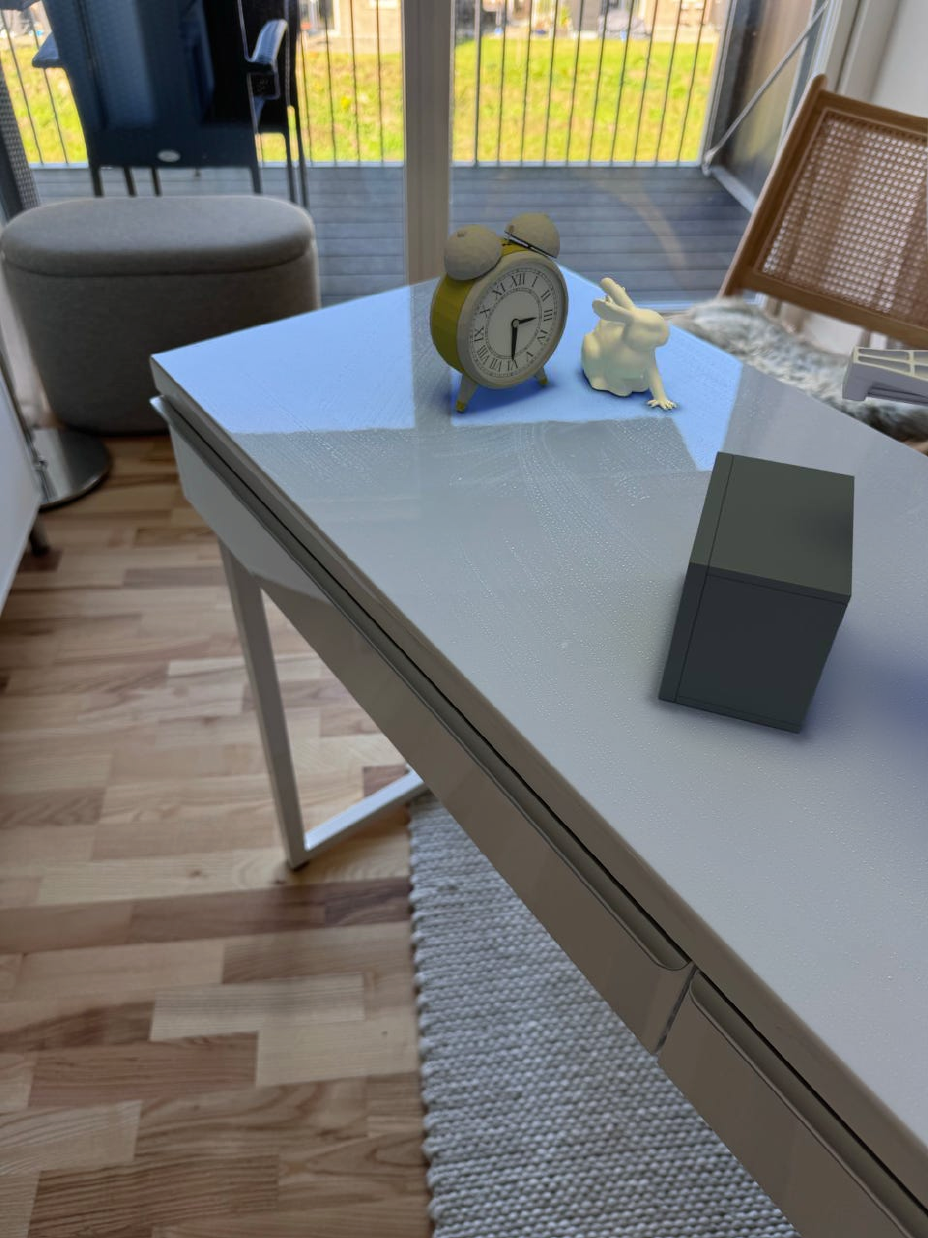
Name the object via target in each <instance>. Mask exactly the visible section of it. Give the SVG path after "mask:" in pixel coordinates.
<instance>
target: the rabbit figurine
mask: <svg viewBox="0 0 928 1238" xmlns="http://www.w3.org/2000/svg"><path fill="white" fill-rule="evenodd" d="M599 288H600V289H601V291H603V293H605V294H606V295H605V297H603V298H597V297H596V298H593V301H592V302H591V307H592V310H593V313H594V314H595V315H596V316H597V317H599V320H598V321H597V324H596V325H595V327H594V329H591V331H590V332H589V333H585V334H584V335H583V338H582V343H581V347H580V362H581V365H582V368H583V371H584V375H585V376H586V378H587V379H588V381H589V384H590V386H591V388H593V389H595V390H601V391H602V390H603V391H609V392H610V393H612V394H614V395H616V396H620V397H627V396H629V395H631V394H632V392H636V393H637V392H638V393H642V392H646V391H648V390H649V391H650V393H651V396H652V397H653V399H652V400H648V402H646V405H651V406H650V407H653V408H654V407H656V406H660V407H661V408H662V410H664V411H669V410H670V409H671V410H673V408H674V407H675V408H677V405H676V404H675V402H672V401H670V400H669V399H668V397H667V396H666V392H665V389H664V384H663V380H662V376H661V373H660V371H659V366H658V364H657V359H656V349H657V348H661V347H664V346H666V344H668V341H669V338H670V335H671V330H670V326H669V323H667V321H666V319H665V318H664V317H663V316H662V315H661V314H660V313H659V312H657V311H656V310H653V309H649V308H640V307H638V306H637V305H635V303H634V302H633V301H632V299H631V298H630V297H629V296H628V294H627V292H626V288H625V287H624V286H621V285H619V284H618V283H616V282H615V281H614V280H613V279H612V278H610V277H605V278H602V279H601V281H600V282H599Z"/></svg>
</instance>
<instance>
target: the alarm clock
mask: <svg viewBox="0 0 928 1238" xmlns="http://www.w3.org/2000/svg"><path fill="white" fill-rule="evenodd" d="M504 234H507V238H506V237H499V235H498V234H497V233H496V232H495V231H493V230H492V229H490V228H489V227H487V226H485V225H482V224H475V223H471V224H468V225H463V226H461V227H460V228H458V229H457V230H456V231H454V232H453V233H452V234H451V235H450V236H449V238H448V239H447V241H446V243H445V245H444V249H443V265H444V270H443V272H442V273H441V275H440V277H439V279H438V281H437V283H436V287H435V289H434V290H433V294H432V298H431V301H430V302H431V303H430V308H429V330H430V331H429V333H430V336H431V340H432V343H433V344H432V345H433V346H434V347H435V350H436V351H437V354H438V355H439V356H440V357H441V358H442V360H443V361H444V362H445V363H446V364H447V365H448V366H449V367H451V368H452V369H454V370H455V371H457V372H458V373H460V374H462V375H461V380H460V385H459V390H458V395H457V399H456V403H455V410H457V411H459V412H464V410H465V409H466V407H467V406H468V403H470V400H471V399H472V397H473V396H474V394H475V392H476V390H477V389H478V388H479V386H482V387H484V388H489V389H492V390H505V389H509V388H513V387H516V386H518V385H520V384H523V383H525V382H527V381H528V380H530V379H532V377H533V378H534V379H535V380H536V381H537V382H538V383H539V385H540V386H542V387H545V386H546V385H548V383H549V380H548V377H547V374H546V370H545V365H546V364H547V363H549V360H550V359H551V357H552V356H553V354H554V353H555V352H556V350H557V348H558V346H559V344H560V342H561V340H562V337H563V335H564V332H565V329H566V325H567V322H568V321H567V320H568V316H569V301H570V299H569V298H570V297H569V290H568V286H567V281H566V280H565V277H564V274H563V272H562V270H561V269H560V268H559V266H558V265H557V264H556V263H555V262H554V261H553V260H552V259H551V258H554V259H558V256H559V253H560V250H561V239H560V234H559V231H558V229H557V228H556V226H555V224H554V222H553V221H552V220H551V219H549V214H548V213H547V212H546V211H542V212H539V213H538V212H537V213H536V212H525V213H522V214H520V215H519V214H518V215H517V216H515V217H514V218H513V219H511V220H510V221H509V223H507V225H506V227H505V229H504ZM511 237H512V238H511ZM516 240H517V241H516ZM518 241H519V242H518ZM550 257H551V258H550Z"/></svg>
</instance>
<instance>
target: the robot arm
mask: <svg viewBox="0 0 928 1238" xmlns="http://www.w3.org/2000/svg"><path fill="white" fill-rule="evenodd" d="M867 398H872V399H878V400H883V401H891V402H897V403H903V404H907V405H908V404H909V405H914V406H921V407H928V349H887V348H884V349H883V348H872V347H866V346H865V347H863V346H853V347H852V351H851V354H850V357H849V360H848V364H847V366H846V370H845V373H844V377H843V379H842V386H841V399H842V400H848V401H854V402H865V401H866V399H867Z"/></svg>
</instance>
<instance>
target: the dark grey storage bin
mask: <svg viewBox="0 0 928 1238" xmlns="http://www.w3.org/2000/svg"><path fill="white" fill-rule="evenodd" d="M855 479H856V477H855V475H851V474H846V473H841V472H834V471H829V470H823V469H819V468H813V467H808V466H807V467H806V466H802V465H795V464H792V463H791V464H790V463H786V462H780V461H774V460H769V459H763V458H757V457H753V456H747V455H740V454H737V453H736V454H733V453H730V452H724V451H717V452H716V455H715V459H714V463H713V467H712V471H711V475H710V479H709V482H708V486H707V489H706V494H705V499H704V502H703V505H702V510H701V514H700V518H699V522H698V525H697V529H696V532H695V536H694V542H693V544H692V548H691V549H692V550H691V552H690V556H689V560H688V564H687V569H686V573H685V577H684V583H683V585H682V591H681V595H680V600H679V604H678V609H677V613H676V616H675V621H674V625H673V630H672V634H671V639H670V643H669V648H668V652H667V656H666V662H665V665H664V669H663V674H662V677H661V678H662V679H661V682H660V687H659V691H658V696H657V697H658V699H659V700H663V701H667V702H672V703H676V704H680V705H683V706H688V707H692V708H696V709H699V710H704V711H708V712H712V713H716V714H720V715H724V716H728V717H732V718H736V719H741V720H743V721H749V722H753V723H757V724H761V725H764V726H769V727H773V728H776V729H780V730H784V731H789V732H793V733H797V734H799V733H800V731H801V730H802V729H801V728H802V727H803V724H804V720H805V718H806V716H807V713H808V710H809V708H810V705H811V703H812V700H813V698H814V695H815V692H816V690H817V688H818V684H819V682H820V679H821V676H822V675H823V671H824V668H825V666H826V665H827V664H826V663H827V661H828V658H829V656H830V654H831V650H832V648H833V646H834V642H835V640H836V637H837V635H838V633H839V629H840V627H841V624H842V623H843V622H842V621H843V619H844V617H845V614H846V611H847V609H848V606H849V604H850V601H851V598H852V595H853V594H852V593H853V591H852V590H853V559H854V558H853V556H854V555H853V554H854V552H853V551H854V519H855V517H854V516H855V512H854V510H855Z"/></svg>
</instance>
